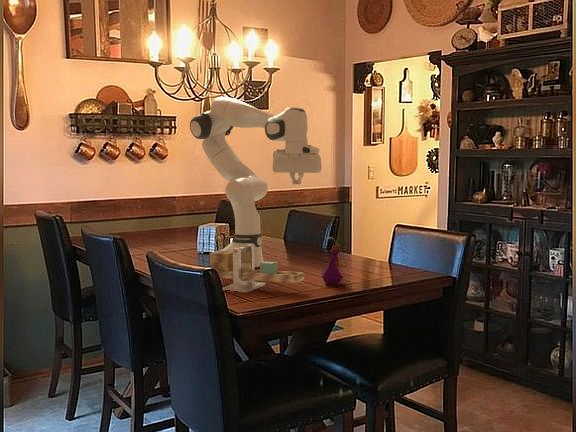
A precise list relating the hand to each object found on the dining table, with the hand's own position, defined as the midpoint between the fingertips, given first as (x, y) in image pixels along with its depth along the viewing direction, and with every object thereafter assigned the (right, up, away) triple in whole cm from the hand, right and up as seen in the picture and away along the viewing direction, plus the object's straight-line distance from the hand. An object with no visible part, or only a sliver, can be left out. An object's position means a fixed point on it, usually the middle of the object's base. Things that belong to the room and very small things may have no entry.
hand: (296, 184), depth 259 cm
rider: (-10, -34, -20) cm, 41 cm away
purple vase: (+13, -39, -11) cm, 42 cm away
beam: (-15, -35, -18) cm, 42 cm away
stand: (-20, -39, -15) cm, 46 cm away
